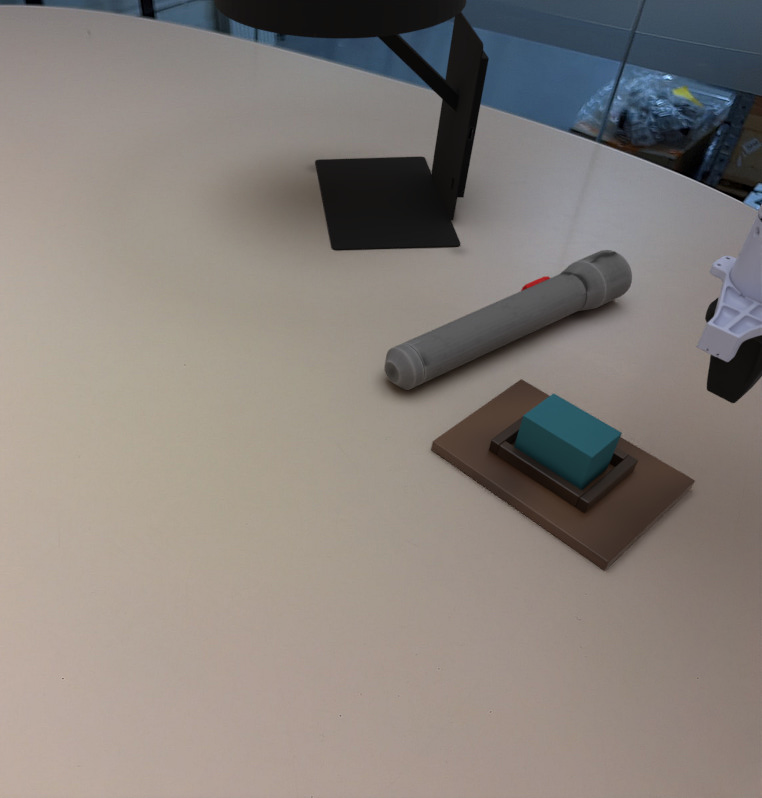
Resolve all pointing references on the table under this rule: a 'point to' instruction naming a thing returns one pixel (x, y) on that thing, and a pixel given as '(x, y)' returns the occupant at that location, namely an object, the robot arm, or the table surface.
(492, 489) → the brown board with frame
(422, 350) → the flashlight
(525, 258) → the table surface
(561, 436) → the teal block
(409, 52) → the table lamp
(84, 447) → the table surface
